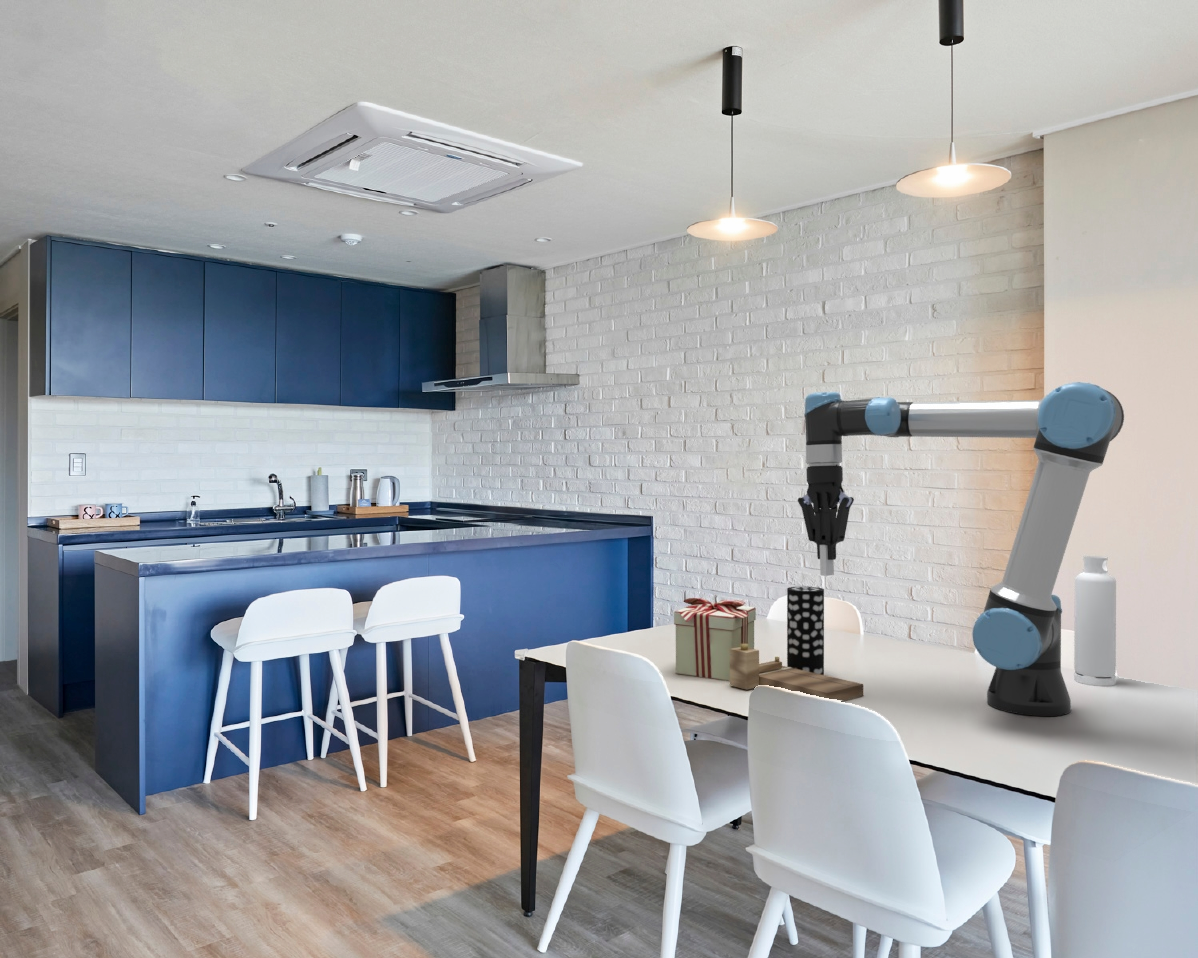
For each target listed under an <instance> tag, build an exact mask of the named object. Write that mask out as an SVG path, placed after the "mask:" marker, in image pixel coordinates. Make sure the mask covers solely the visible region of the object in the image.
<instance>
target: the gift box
mask: <svg viewBox="0 0 1198 958" xmlns="http://www.w3.org/2000/svg"><path fill="white" fill-rule="evenodd" d="M683 602H684V603H685V604H689V605H687V606H685V607H683V608H681V609H680V608H679V609H678V610H675V611H674V612H673V625H675V674H676V675H682V676H684V675H685V676H691V677H698V678H703V679H704V678H705V679H713V680H721V681H728V682H730V649H732V648H738V647H741V644H743V643H745V644H748V648H751V649H755V621H756V620H757V618H756V616H757V614H756V612H757V608H756V607H755V606H748V605H747V606H745V605H746V602H745V600H744V601H743V600H727V599H722V600H719V601H718V602H713V603H712V602H711V601H709V600H708V599H706V598H697V597H692V598H691V597H690V598H686V599H684V600H683Z"/></svg>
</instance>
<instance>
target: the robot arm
mask: <svg viewBox="0 0 1198 958" xmlns="http://www.w3.org/2000/svg"><path fill="white" fill-rule="evenodd" d="M804 401H805V402H804V424H805V425H804V426H805V463H806V464H807V465H808V466H807V467H806V468H805V469H806V483H807V484H808V487H807V489H806V494H805V495H803V496H801V497H798V498H797V502H798V505H799V507H800V508H801V511H802V515H803V520H804V524H805V529H806V533H807V537H808V541H809V542H813V543H815V544H816V555H817V556H816V557H817V559H818V560H819V563H820V564H819V567H820V569H819V570H820V576H822V577H823V576H824V577H827V576H834V575H835V567H834V566H835V565H834V563H835V562H834V560H835V561H836V558H837V544H839V543H841V542H842V543H843V542H844V541H845V537H846V531H847V526H848V520H849V514H850V511H851V507H852V505H853V503H854V501H855V499H854V497H853V496H848V495H847V494H845V491H844V488H843V485H842V483H843V481H844V479H843V478H844V476H843V473H844V472H843V466H842V465H840V464H842V462H843V447H842V446H843V445H842V444H843V441H842V438H843V437H851V436H852V437H853V436H854V437H855V436H878V437H887V438H902V437H905V438H909V437H914V438H915V437H916V438H917V437H918V438H919V437H920V438H922V437H923V438H924V437H925V438H926V437H928V438H930V437H931V438H932V437H934V438H1000V439H1001V438H1005V439H1006V438H1008V439H1009V438H1015V439H1017V438H1018V439H1019V438H1020V439H1021V438H1022V439H1025V438H1026V439H1035V442H1034V445H1033V448H1032V450H1033V451H1034V454H1035V456H1036V457H1037V458H1038V463H1037V465H1036V468H1035V472H1034V475H1033V480H1032V482H1031V486H1030V488H1029V492H1028V495H1027V498H1026V502H1025V505H1024V507H1023V511H1022V514H1021V518H1020V521H1019V524H1018V528H1017V532H1016V534H1015V538H1014V542H1013V545H1012V548H1011V551H1010V554H1009V556H1008V557H1009V558H1008V561H1007V564H1006V567H1005V570H1004V571H1005V572H1004V574H1003V578H1002V580H1001V582H999V583H997V584H995V585H993V586H991V588H990V590H989V593H988V596H987V599H986V602H985V607H984V609H983V612H982V613H981V614H979V616H978V617H977V618H976V620H975V622H974V624H973V626H972V635H971V636H972V642H973V645H974V647H975V650H976V651H977V653H978V654H979V656H980V657H981V658H982V659H983V660H984V661H986V663H989V664H990V665H991V666H993V667H995V669H994V672H993V675H992V677H991V680H990V683H989V686H988V689H987V692H986V693H987V694H986V702H987V704H988V705H989V706H991V707H992V708H995V709H997V710H1001V711H1003V712H1008V713H1012V714H1020V715H1027V716H1036V717H1037V716H1038V717H1055V716H1063V715H1067V714H1069V713H1071V706H1072V705H1071V704H1072V703H1071V696H1070V693H1069V691H1068V688H1067V685H1066V683H1065V679H1064V676H1063V674H1062V666H1061V665H1062V664H1061V662H1062V661H1061V659H1062V657H1061V656H1062V613H1063V609H1062V603H1061V598H1060V597H1059V596H1058V595H1056V594H1053V591H1054V587H1055V585H1056V582H1057V579H1058V576H1059V572H1060V569H1061V566H1062V563H1063V559H1064V556H1065V553H1066V549H1067V546H1068V543H1069V540H1070V538H1071V533H1072V531H1073V528H1074V524H1075V521H1076V518H1077V515H1078V511H1079V509H1080V505H1081V502H1082V499H1083V497H1084V496H1083V495H1084V492H1085V489H1086V487H1087V483H1088V481H1089V478H1090V473H1092V471H1095V470H1096V469H1099V468H1100V467H1102V466H1103V465H1104V461H1105V457H1106V455H1107V452H1108V449H1109V446H1110V442H1112V441H1114V440H1115V438H1117V436H1118V435H1119V433H1120V432H1121V430H1122V428H1123V425H1124V422H1125V414H1124V409H1123V406H1122V405H1123V404H1122V403H1121V402H1120V400H1119V398H1117V396H1115V395H1114V394H1113V393H1112V392H1110V391H1109V390H1107V389H1104V388H1102V387H1100V386H1099V385H1097V384H1092V383H1090V382H1081V381H1077V382H1071V383H1067V384H1063V385H1060V386H1058V387H1056V388H1055V389H1053V390H1051V392H1049V393H1048V394H1046V395H1044V397H1042V398H1041V399H1023V400H1022V399H1019V400H1018V399H1015V400H1009V399H1008V400H958V401H950V400H949V401H947V400H946V401H897V400H896V399H895V398H894V397H880V396H878V397H874V398H873V397H871V398H864V399H863V398H862V399H854V400H842V397H841V394H840V393H839V392H837V391H828V392H827V391H826V392H823V391H822V392H813V393H810V394H808V395H807V396H806V398H805V400H804ZM838 504H839V505H838Z"/></svg>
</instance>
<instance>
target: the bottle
mask: <svg viewBox="0 0 1198 958" xmlns="http://www.w3.org/2000/svg"><path fill="white" fill-rule="evenodd" d="M1082 560H1083V569H1082V571H1083V572H1080V573H1078V574H1077V575H1076V576H1075V578H1074V635H1073V637H1074V639H1073V640H1074V642H1073V643H1074V645H1073V646H1074V654H1073V655H1074V659H1073V660H1074V661H1073V663H1074V664H1073V665H1074V674H1073V680H1074V681H1075V682H1077V683H1079V684H1082V685H1083V684H1084V685H1088V686H1095V687H1112V686H1115V685H1116V684H1117V682H1116V677H1117V676H1116V673H1117V672H1116V670H1117V669H1116V666H1117V665H1116V664H1117V663H1116V662H1117V658H1116V657H1117V653H1116V652H1117V651H1116V649H1117V626H1116V625H1117V581H1116V579H1115V577H1114V576H1113V575H1111V574H1110V573H1108V567H1107V563H1108V557H1106V556H1101V555H1085V556H1083V559H1082Z"/></svg>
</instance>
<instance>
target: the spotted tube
mask: <svg viewBox="0 0 1198 958" xmlns="http://www.w3.org/2000/svg"><path fill="white" fill-rule="evenodd" d="M786 597H787V598H786V605H787V606H786V623H787V624H786V647H787V648H786V651H787V653H786V659H787V660H786V667H791V668H794V669H799V670H803V671H808V672H812V673H816V674H821V675H825V589H824V588H821V587H815V586H791V587H787V588H786Z"/></svg>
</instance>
